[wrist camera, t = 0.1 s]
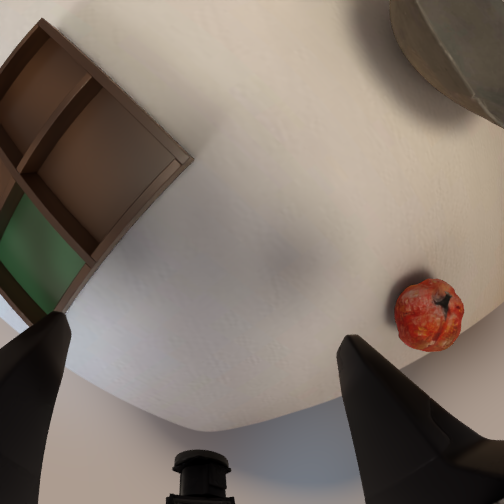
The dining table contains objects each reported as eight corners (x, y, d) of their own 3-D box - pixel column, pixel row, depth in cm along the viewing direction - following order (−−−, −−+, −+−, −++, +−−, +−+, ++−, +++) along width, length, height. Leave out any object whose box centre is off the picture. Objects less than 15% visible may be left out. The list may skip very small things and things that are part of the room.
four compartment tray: (57, 324, 22) (43, 341, 19) (-44, 191, 17) (-62, 195, 13) (194, 159, 20) (190, 157, 17) (57, 29, 14) (41, 17, 11)
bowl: (332, 89, 19) (401, 47, 10) (350, -41, 15) (391, -88, 5) (474, 162, 23) (543, 170, 13) (473, 36, 18) (525, 21, 8)
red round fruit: (425, 302, 29) (467, 254, 21) (440, 359, 25) (494, 323, 17) (373, 310, 29) (409, 259, 21) (385, 372, 25) (435, 340, 17)
